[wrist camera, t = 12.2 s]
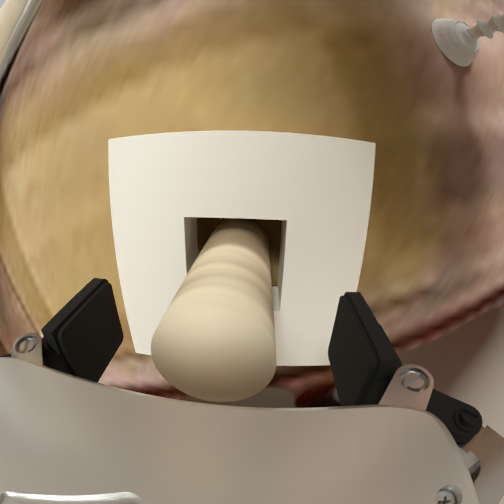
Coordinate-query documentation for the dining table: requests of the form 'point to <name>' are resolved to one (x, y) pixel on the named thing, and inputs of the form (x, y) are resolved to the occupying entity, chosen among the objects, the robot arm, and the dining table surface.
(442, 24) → the chalice
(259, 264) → the peg
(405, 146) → the dining table surface
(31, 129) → the dining table surface
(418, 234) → the dining table surface
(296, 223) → the socket
